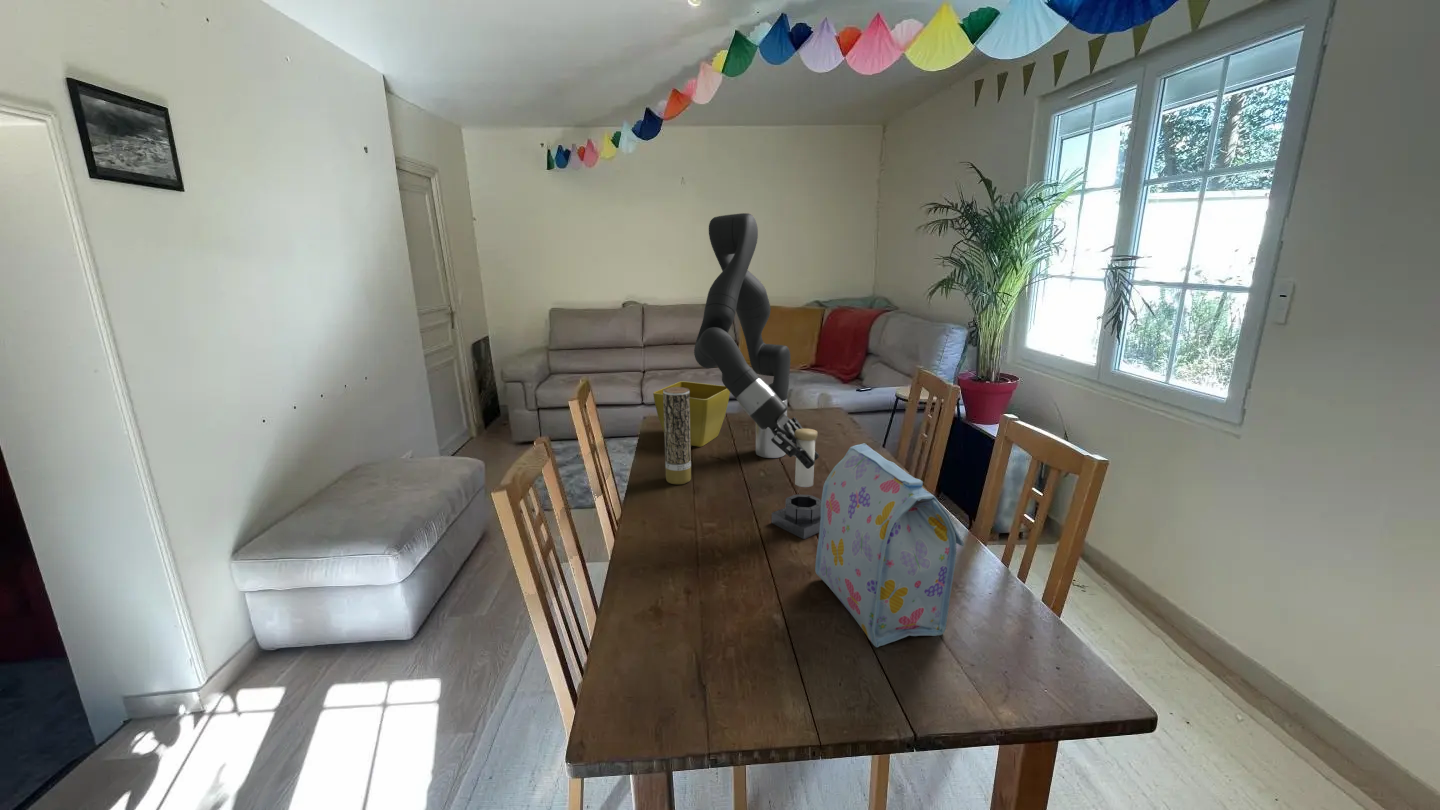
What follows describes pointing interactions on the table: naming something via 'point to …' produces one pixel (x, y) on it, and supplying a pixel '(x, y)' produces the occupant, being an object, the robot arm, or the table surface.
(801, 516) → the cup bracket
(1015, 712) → the table surface
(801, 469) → the white beige cylinder
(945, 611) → the lunch bag
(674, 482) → the paper tube
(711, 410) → the flower pot
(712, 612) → the table surface
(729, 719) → the table surface
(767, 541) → the table surface
